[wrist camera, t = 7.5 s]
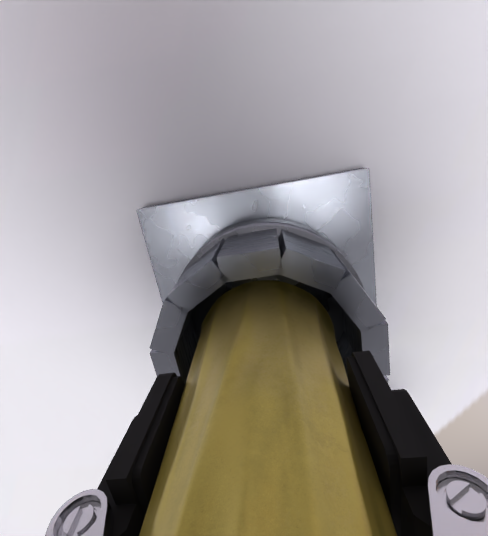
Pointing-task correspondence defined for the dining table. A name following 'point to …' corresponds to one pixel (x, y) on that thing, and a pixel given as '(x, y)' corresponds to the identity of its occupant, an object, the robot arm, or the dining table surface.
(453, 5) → the dining table surface
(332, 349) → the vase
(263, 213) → the cup bracket
